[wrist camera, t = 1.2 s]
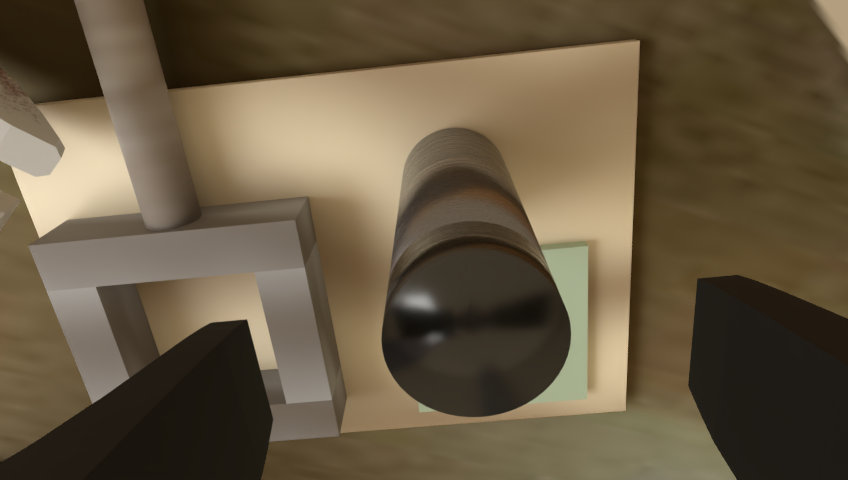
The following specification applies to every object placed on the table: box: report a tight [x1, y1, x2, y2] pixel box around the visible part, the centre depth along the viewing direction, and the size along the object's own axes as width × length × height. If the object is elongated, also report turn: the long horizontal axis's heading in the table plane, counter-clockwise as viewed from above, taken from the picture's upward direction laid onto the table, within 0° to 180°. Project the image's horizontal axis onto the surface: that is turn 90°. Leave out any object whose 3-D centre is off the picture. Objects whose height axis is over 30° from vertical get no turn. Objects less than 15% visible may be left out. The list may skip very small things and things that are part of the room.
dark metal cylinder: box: [381, 128, 571, 417], centre depth 14 cm, size 3×3×9 cm
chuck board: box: [11, 0, 640, 442], centre depth 18 cm, size 17×19×2 cm
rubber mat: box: [418, 241, 588, 412], centre depth 20 cm, size 6×6×1 cm
